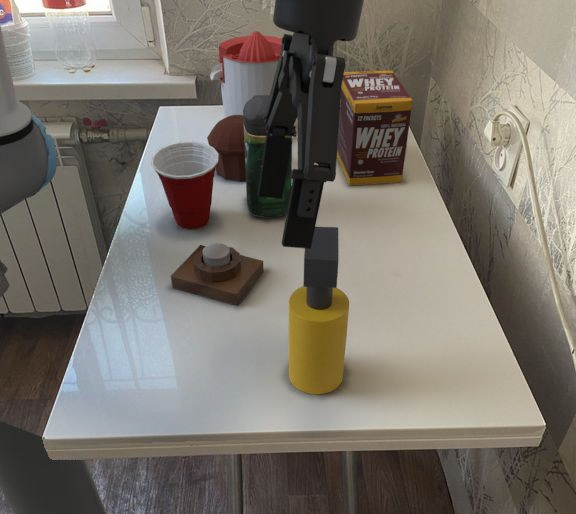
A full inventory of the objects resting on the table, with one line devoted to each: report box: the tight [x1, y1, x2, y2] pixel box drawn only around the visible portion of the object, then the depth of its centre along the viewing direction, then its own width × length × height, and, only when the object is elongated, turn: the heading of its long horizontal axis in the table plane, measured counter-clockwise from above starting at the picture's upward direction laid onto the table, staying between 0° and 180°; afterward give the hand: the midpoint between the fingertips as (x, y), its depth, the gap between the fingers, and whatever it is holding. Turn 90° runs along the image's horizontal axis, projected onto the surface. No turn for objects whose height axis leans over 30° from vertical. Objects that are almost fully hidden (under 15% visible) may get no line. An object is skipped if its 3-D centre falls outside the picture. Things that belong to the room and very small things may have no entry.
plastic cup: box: [150, 140, 218, 230], centre depth 102 cm, size 11×11×12 cm
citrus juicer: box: [209, 30, 282, 117], centre depth 126 cm, size 16×17×20 cm
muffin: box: [206, 115, 246, 182], centre depth 117 cm, size 12×11×10 cm
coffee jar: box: [243, 95, 293, 219], centre depth 104 cm, size 10×8×19 cm
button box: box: [170, 244, 265, 307], centre depth 93 cm, size 11×9×4 cm
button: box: [203, 242, 230, 267], centre depth 91 cm, size 4×4×2 cm
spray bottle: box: [288, 226, 350, 395], centre depth 73 cm, size 8×7×20 cm
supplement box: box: [337, 70, 414, 186], centre depth 116 cm, size 10×15×16 cm
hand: (281, 219), depth 64 cm, fingers open, 13 cm apart
